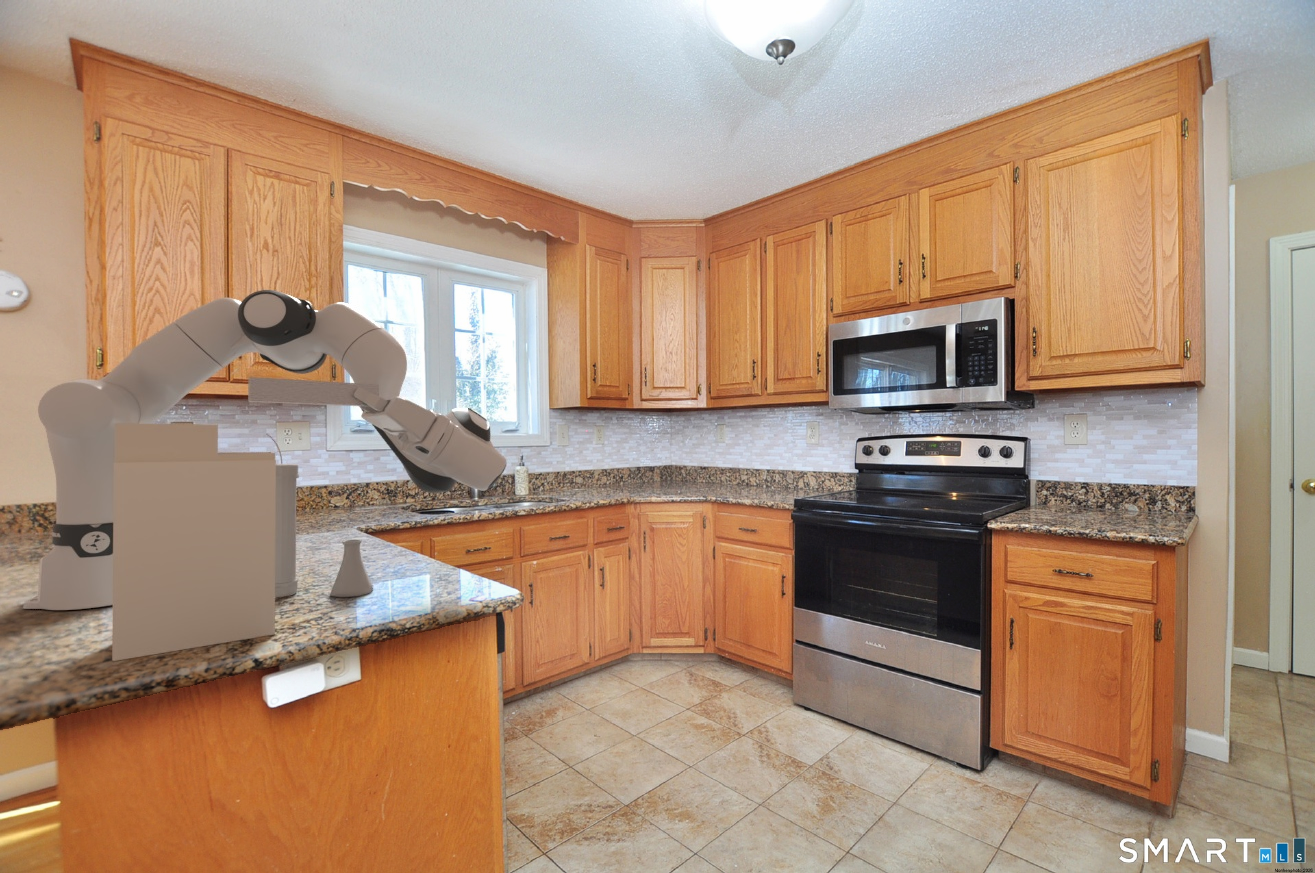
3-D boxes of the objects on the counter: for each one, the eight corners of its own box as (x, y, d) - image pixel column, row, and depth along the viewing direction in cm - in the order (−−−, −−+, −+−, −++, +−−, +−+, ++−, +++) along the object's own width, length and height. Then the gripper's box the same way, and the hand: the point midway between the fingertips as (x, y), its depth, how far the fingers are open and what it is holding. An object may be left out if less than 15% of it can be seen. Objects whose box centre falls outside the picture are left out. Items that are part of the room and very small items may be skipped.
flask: (361, 598, 109) (361, 544, 109) (321, 598, 109) (322, 543, 109) (380, 588, 117) (380, 537, 117) (343, 588, 117) (343, 537, 117)
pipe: (281, 599, 109) (282, 433, 109) (252, 597, 110) (253, 433, 110) (305, 591, 114) (306, 433, 114) (277, 589, 115) (278, 433, 115)
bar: (248, 401, 93) (248, 378, 93) (373, 406, 104) (373, 385, 104) (250, 400, 90) (250, 377, 90) (378, 405, 101) (378, 384, 101)
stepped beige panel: (119, 640, 86) (121, 424, 86) (268, 617, 97) (269, 426, 97) (112, 661, 78) (114, 423, 78) (274, 634, 89) (276, 425, 89)
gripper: (417, 420, 117) (349, 380, 109) (453, 418, 101) (376, 371, 93) (399, 448, 115) (329, 409, 108) (433, 451, 99) (353, 405, 91)
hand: (351, 391), depth 100 cm, fingers closed on bar, 4 cm apart
